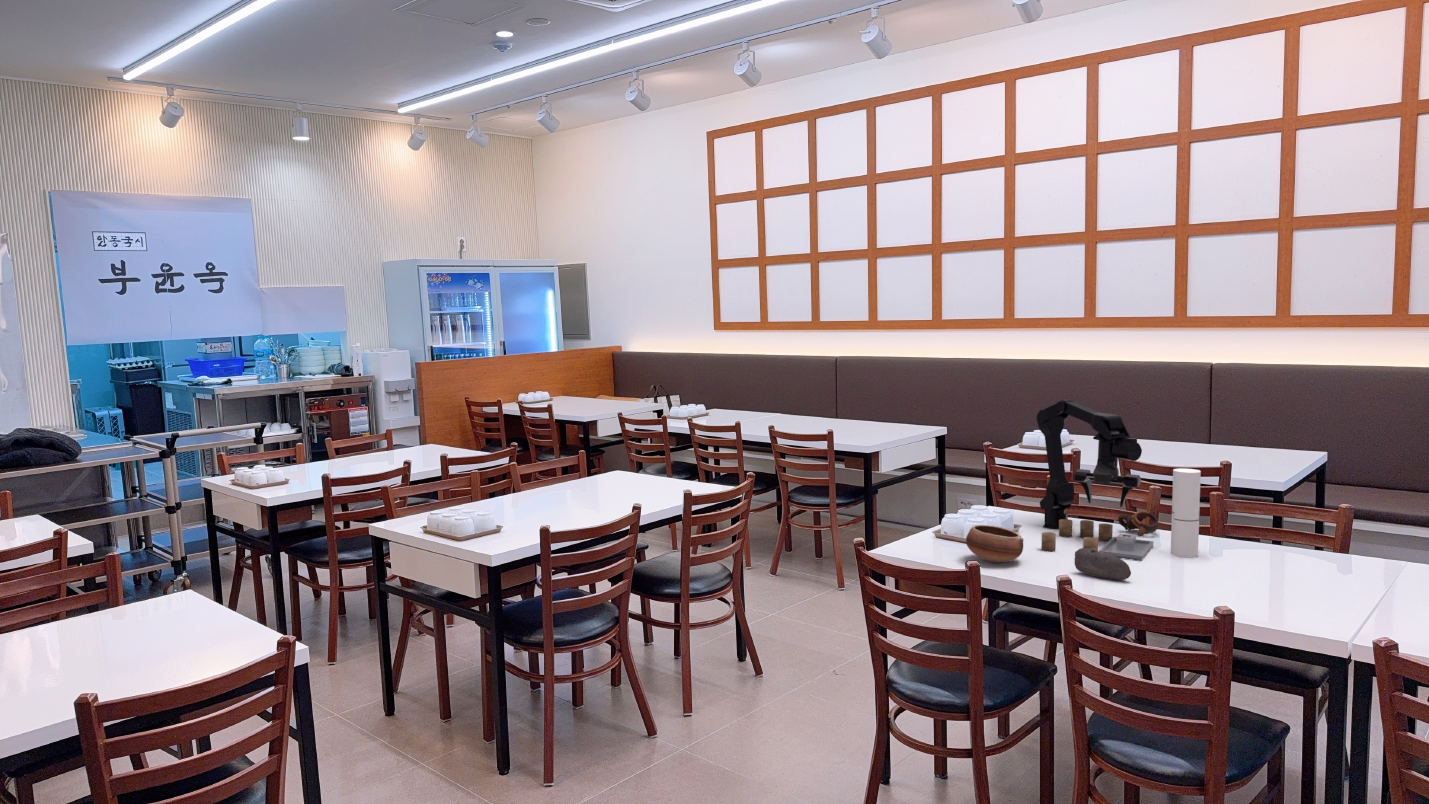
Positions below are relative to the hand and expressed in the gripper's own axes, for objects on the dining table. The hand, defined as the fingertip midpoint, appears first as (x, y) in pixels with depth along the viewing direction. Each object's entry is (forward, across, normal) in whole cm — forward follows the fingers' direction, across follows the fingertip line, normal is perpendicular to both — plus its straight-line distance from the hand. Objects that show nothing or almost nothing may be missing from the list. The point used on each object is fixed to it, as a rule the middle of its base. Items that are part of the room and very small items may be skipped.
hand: (1105, 504), depth 288 cm
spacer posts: (+11, -6, -10) cm, 16 cm away
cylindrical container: (+11, +24, -5) cm, 26 cm away
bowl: (+12, -21, -41) cm, 47 cm away
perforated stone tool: (+11, +9, -42) cm, 44 cm away
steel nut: (+10, +8, -10) cm, 16 cm away
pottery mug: (+12, +7, +15) cm, 21 cm away
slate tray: (+11, +8, -10) cm, 17 cm away
